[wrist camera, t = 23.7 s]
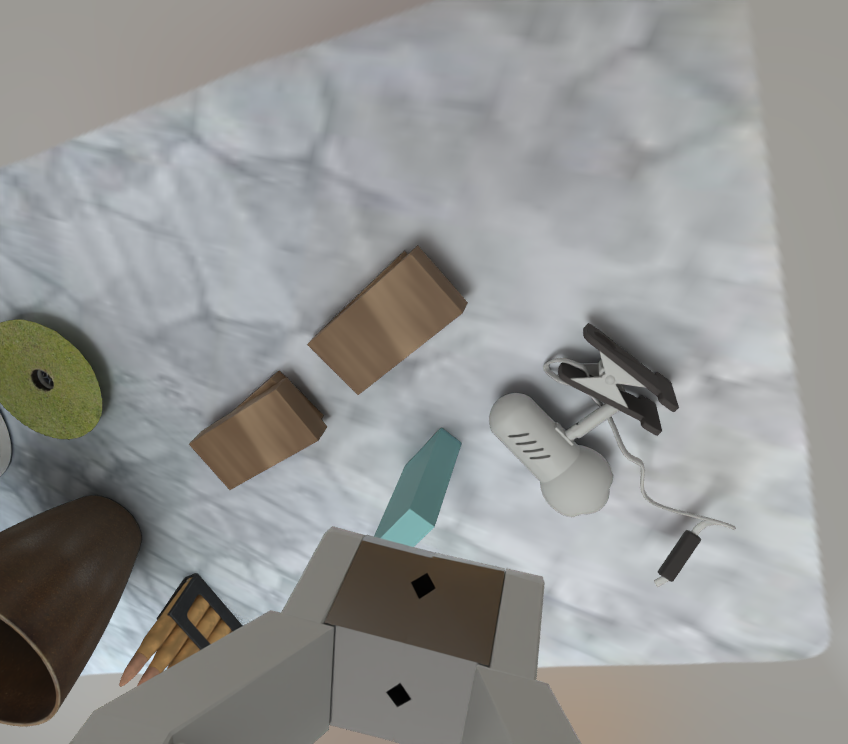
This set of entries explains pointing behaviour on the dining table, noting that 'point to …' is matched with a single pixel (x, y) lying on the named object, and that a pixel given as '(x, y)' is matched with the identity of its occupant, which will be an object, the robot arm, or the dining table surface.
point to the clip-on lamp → (579, 465)
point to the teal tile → (420, 491)
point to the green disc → (47, 381)
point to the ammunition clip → (182, 629)
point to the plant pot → (58, 600)
